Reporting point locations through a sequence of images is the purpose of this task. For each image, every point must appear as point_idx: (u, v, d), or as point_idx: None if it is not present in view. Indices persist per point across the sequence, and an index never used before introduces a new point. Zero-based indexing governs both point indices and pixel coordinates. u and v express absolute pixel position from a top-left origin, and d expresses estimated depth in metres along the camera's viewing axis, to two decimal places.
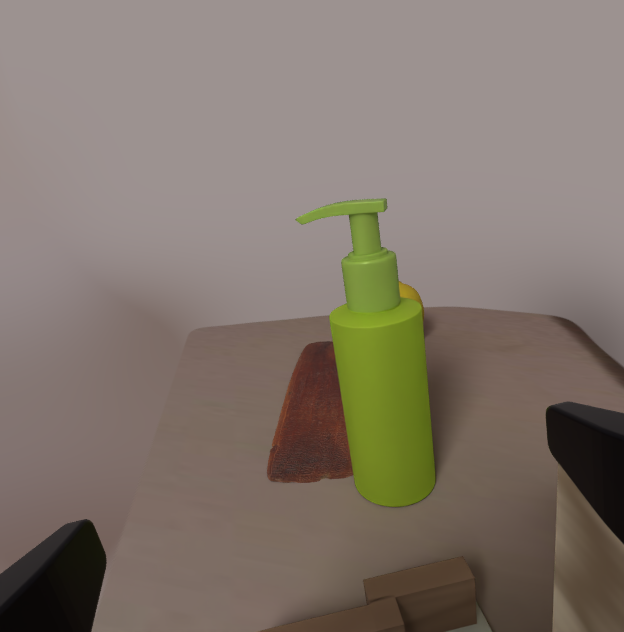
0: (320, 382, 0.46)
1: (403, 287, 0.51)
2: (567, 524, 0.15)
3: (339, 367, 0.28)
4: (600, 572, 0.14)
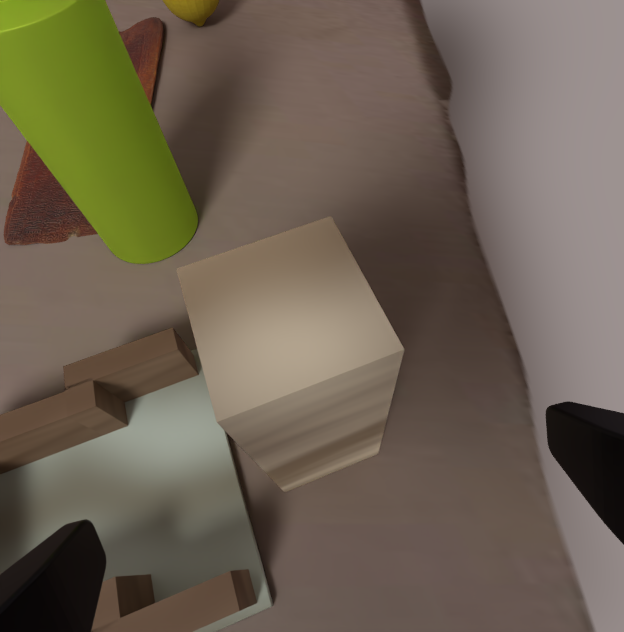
0: None
1: None
2: None
3: None
4: None
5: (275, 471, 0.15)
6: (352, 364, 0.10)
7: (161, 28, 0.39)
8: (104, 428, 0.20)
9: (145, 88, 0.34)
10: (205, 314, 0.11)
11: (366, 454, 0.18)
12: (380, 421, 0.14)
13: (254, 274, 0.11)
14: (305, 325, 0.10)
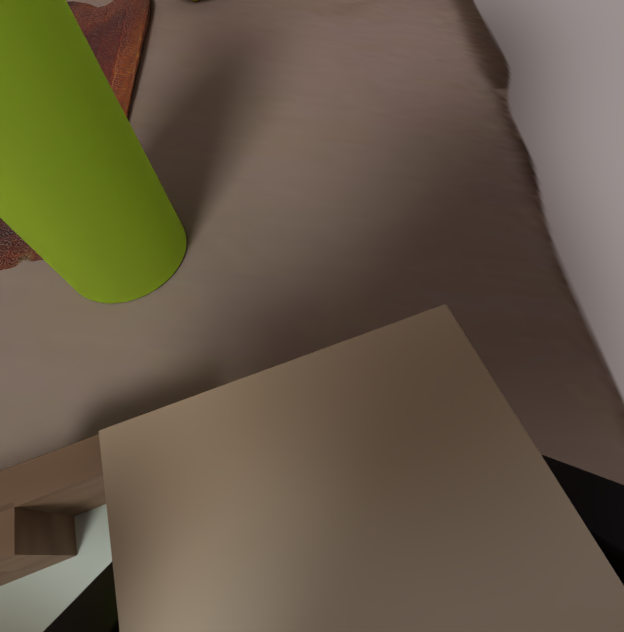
0: None
1: None
2: None
3: None
4: None
5: None
6: None
7: (147, 3, 0.32)
8: (39, 565, 0.13)
9: (125, 73, 0.28)
10: (158, 579, 0.04)
11: None
12: None
13: (280, 456, 0.05)
14: None
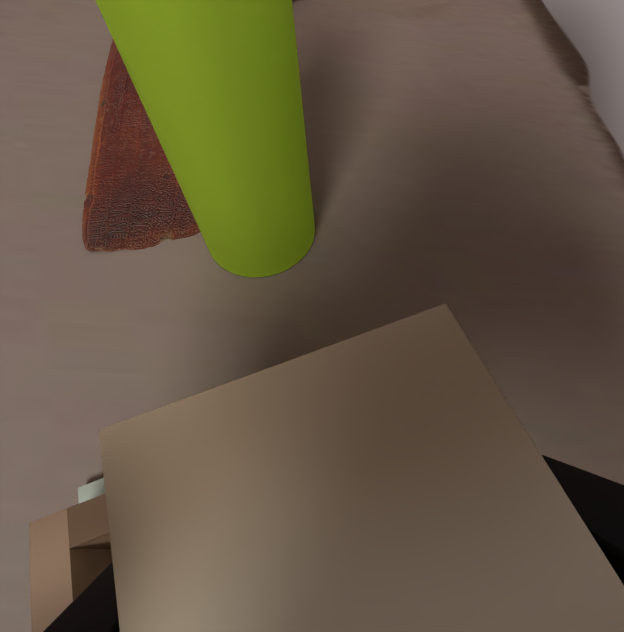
0: None
1: None
2: None
3: (130, 75, 0.14)
4: None
5: None
6: None
7: None
8: None
9: None
10: (159, 578, 0.04)
11: None
12: None
13: (280, 455, 0.05)
14: None
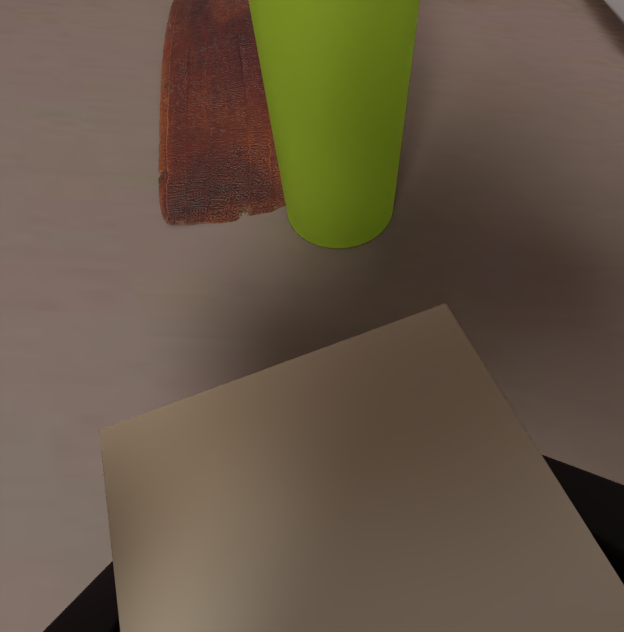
0: (210, 65, 0.30)
1: None
2: None
3: (262, 39, 0.15)
4: None
5: None
6: None
7: None
8: None
9: None
10: (158, 578, 0.04)
11: None
12: None
13: (280, 455, 0.05)
14: None
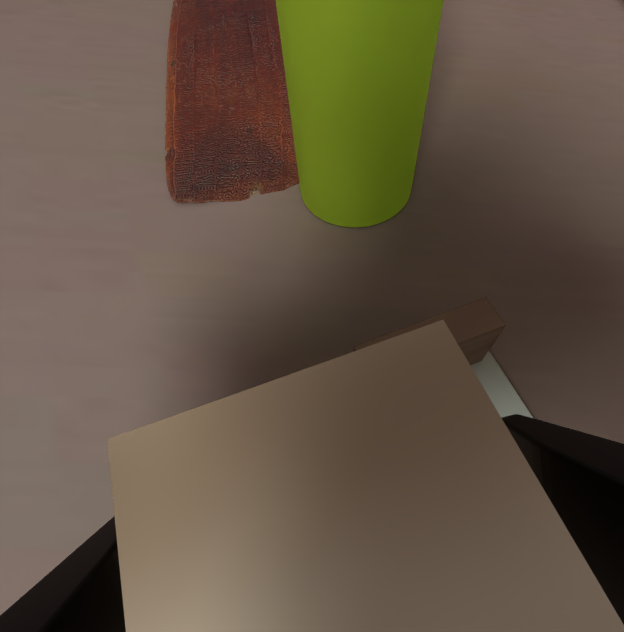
0: (219, 43, 0.29)
1: None
2: None
3: None
4: None
5: None
6: None
7: None
8: None
9: None
10: (162, 583, 0.04)
11: None
12: None
13: (280, 467, 0.05)
14: None
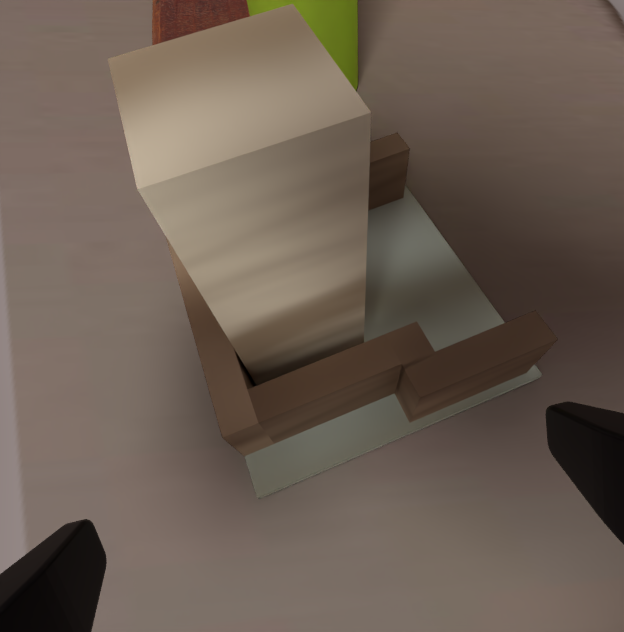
0: None
1: None
2: None
3: None
4: None
5: (240, 340, 0.13)
6: (307, 128, 0.08)
7: None
8: None
9: None
10: (137, 95, 0.09)
11: (349, 347, 0.17)
12: (358, 280, 0.13)
13: (198, 58, 0.09)
14: (253, 98, 0.08)
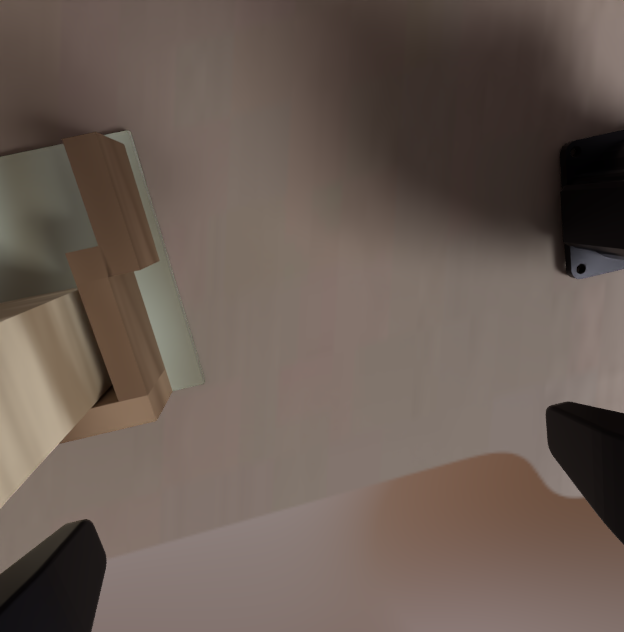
0: None
1: None
2: None
3: None
4: None
5: (75, 415, 0.16)
6: None
7: None
8: None
9: None
10: None
11: None
12: (21, 321, 0.14)
13: None
14: None
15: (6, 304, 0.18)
